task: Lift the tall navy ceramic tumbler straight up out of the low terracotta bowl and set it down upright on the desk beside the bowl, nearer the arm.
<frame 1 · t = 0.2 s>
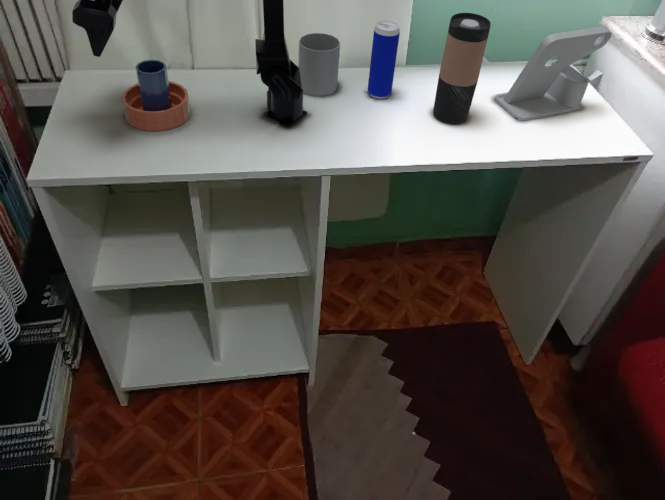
hand: (100, 44, 109), 15 cm above the table, tool pointing down, fingers open, 9 cm apart
phone holder: (538, 104, 133), on the table
travel mug: (449, 116, 127), on the table
tumbler: (158, 114, 120), resting on bowl
bowl: (158, 116, 120), on the table
cup: (317, 87, 133), on the table
beverage can: (379, 94, 132), on the table
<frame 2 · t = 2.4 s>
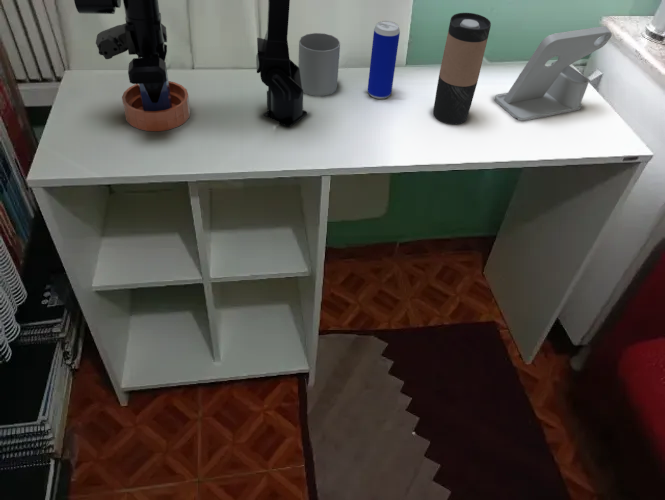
hand: (155, 94, 117), 5 cm above the table, tool pointing down, fingers closed on tumbler, 5 cm apart
tumbler: (158, 114, 120), point 1 cm above the table, touching bowl, gripper
everything else where it was.
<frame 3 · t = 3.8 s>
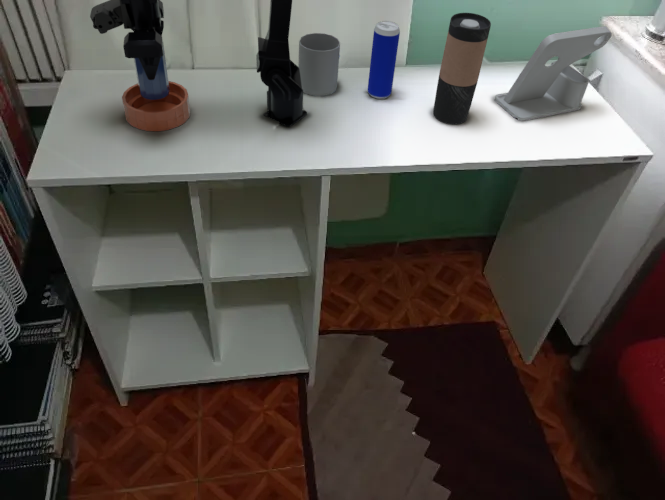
hand: (151, 71, 114), 9 cm above the table, tool pointing down, fingers closed on tumbler, 5 cm apart
tumbler: (154, 92, 117), point 5 cm above the table, touching gripper
everything else where it was.
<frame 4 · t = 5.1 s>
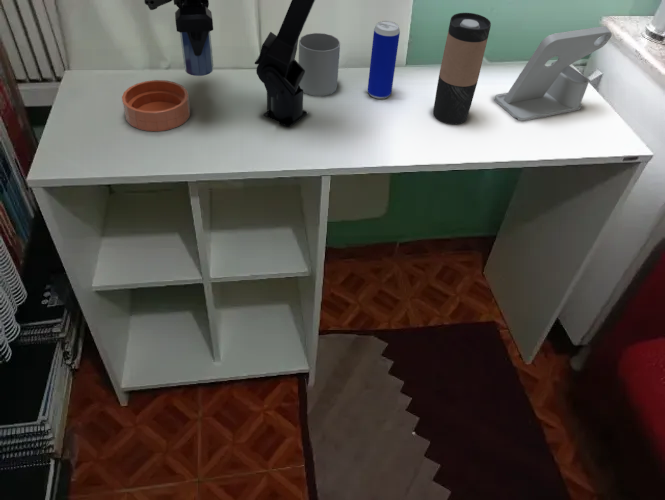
hand: (197, 48, 116), 12 cm above the table, tool pointing down, fingers closed on tumbler, 5 cm apart
tumbler: (199, 69, 119), point 8 cm above the table, touching gripper
everything else where it was.
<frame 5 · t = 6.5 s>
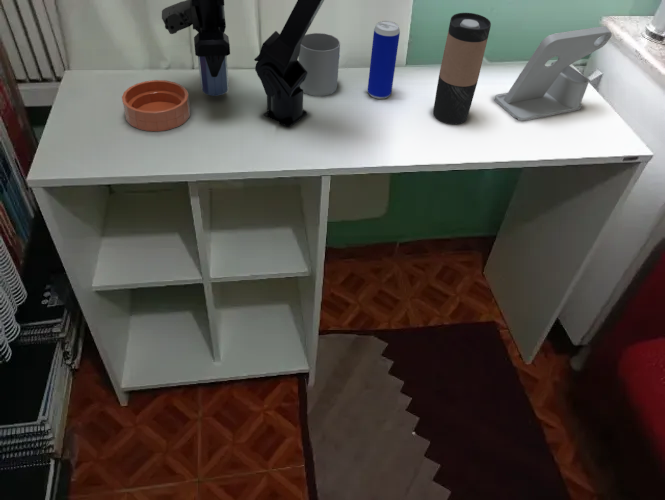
hand: (213, 69, 121), 7 cm above the table, tool pointing down, fingers closed on tumbler, 5 cm apart
tumbler: (215, 89, 124), point 2 cm above the table, touching gripper
everything else where it was.
when the fingers open (4 cm above the table, at t = 7.7 s): tumbler stays where it is, on the table.
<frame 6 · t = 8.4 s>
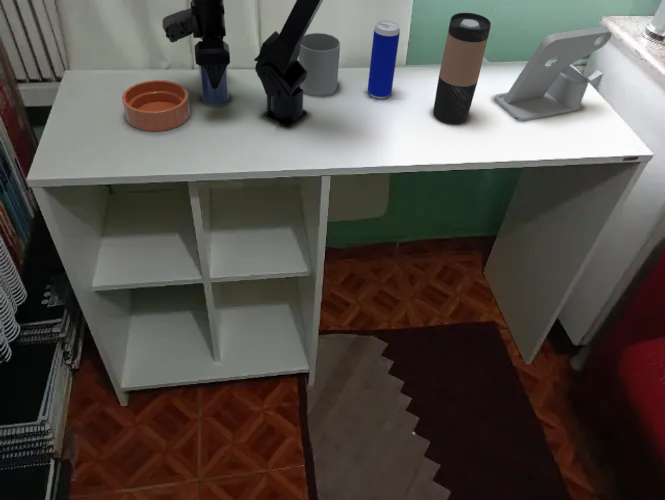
hand: (213, 76, 123), 5 cm above the table, tool pointing down, fingers open, 9 cm apart
tumbler: (215, 99, 126), on the table
everything else where it was.
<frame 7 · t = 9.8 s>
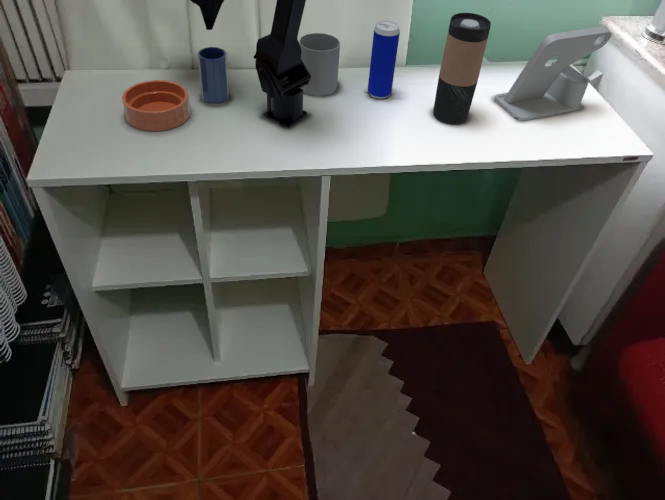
hand: (208, 19, 123), 13 cm above the table, tool pointing down, fingers open, 9 cm apart
nothing on the table moved.
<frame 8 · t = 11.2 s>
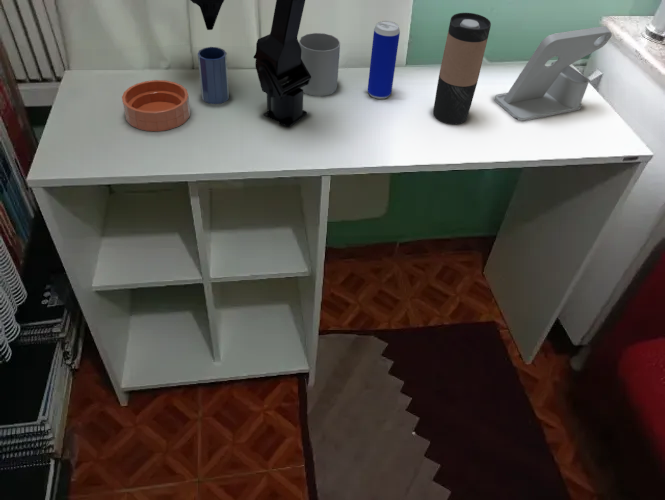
hand: (208, 19, 123), 13 cm above the table, tool pointing down, fingers open, 9 cm apart
nothing on the table moved.
at the end: tumbler inside the target area (0.1 cm from its centre), on the table; tumbler tilted 0°; tumbler touching table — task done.
